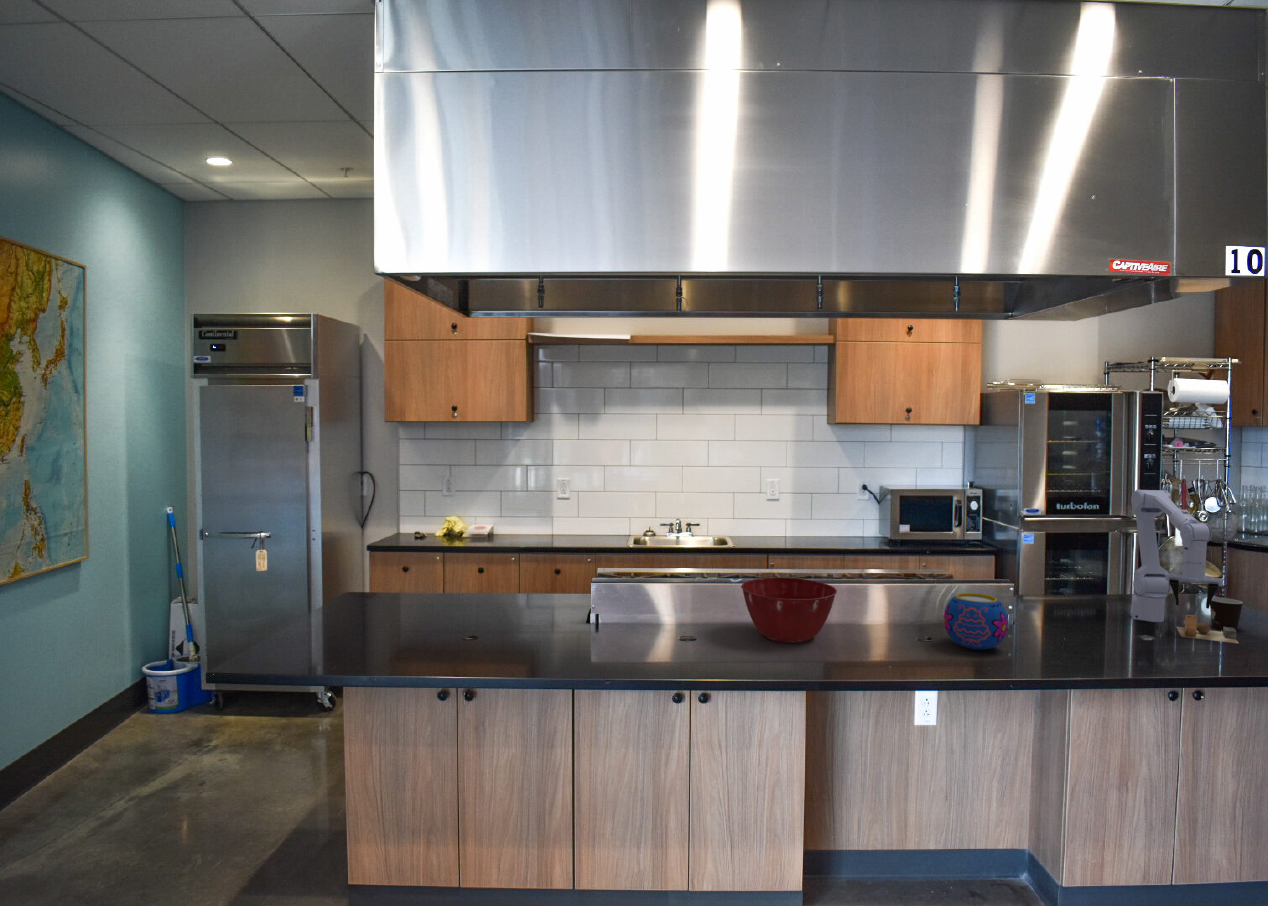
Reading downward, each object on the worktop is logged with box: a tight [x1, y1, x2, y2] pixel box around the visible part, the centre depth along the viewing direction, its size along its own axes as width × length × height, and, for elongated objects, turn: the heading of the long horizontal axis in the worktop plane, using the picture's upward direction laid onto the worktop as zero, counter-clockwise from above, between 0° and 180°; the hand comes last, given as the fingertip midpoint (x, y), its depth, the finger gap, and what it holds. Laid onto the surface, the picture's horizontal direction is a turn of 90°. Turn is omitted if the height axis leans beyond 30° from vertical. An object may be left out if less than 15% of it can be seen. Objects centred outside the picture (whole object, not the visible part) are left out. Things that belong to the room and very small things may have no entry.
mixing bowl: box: [740, 577, 838, 644], centre depth 248 cm, size 28×28×16 cm
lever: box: [1183, 614, 1198, 637], centre depth 256 cm, size 14×3×6 cm, turn 147°
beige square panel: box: [1176, 626, 1240, 644], centre depth 254 cm, size 14×14×3 cm
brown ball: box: [1197, 621, 1211, 634], centre depth 255 cm, size 4×4×4 cm
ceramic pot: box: [943, 592, 1010, 651], centre depth 240 cm, size 18×18×15 cm
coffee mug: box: [1209, 597, 1243, 631], centre depth 263 cm, size 12×9×10 cm
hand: (1192, 606), depth 251 cm, fingers open, 7 cm apart
